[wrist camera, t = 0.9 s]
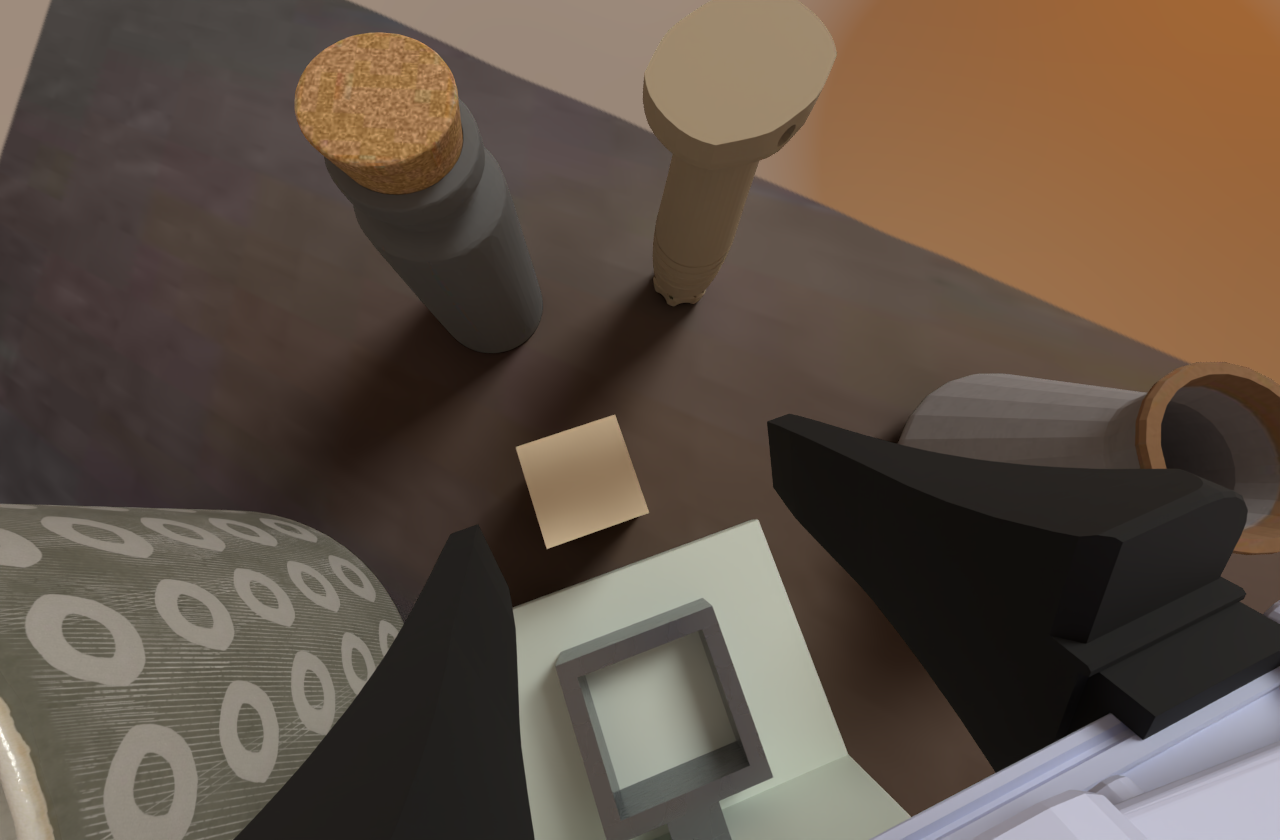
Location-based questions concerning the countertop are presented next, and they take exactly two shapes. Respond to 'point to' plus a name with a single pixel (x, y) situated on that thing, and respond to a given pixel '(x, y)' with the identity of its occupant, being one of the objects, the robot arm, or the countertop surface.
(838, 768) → the mounting board
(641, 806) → the grey square frame
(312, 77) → the bottle
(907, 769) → the countertop surface
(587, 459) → the oak post
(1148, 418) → the coffee pot
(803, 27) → the handle
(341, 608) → the planter
